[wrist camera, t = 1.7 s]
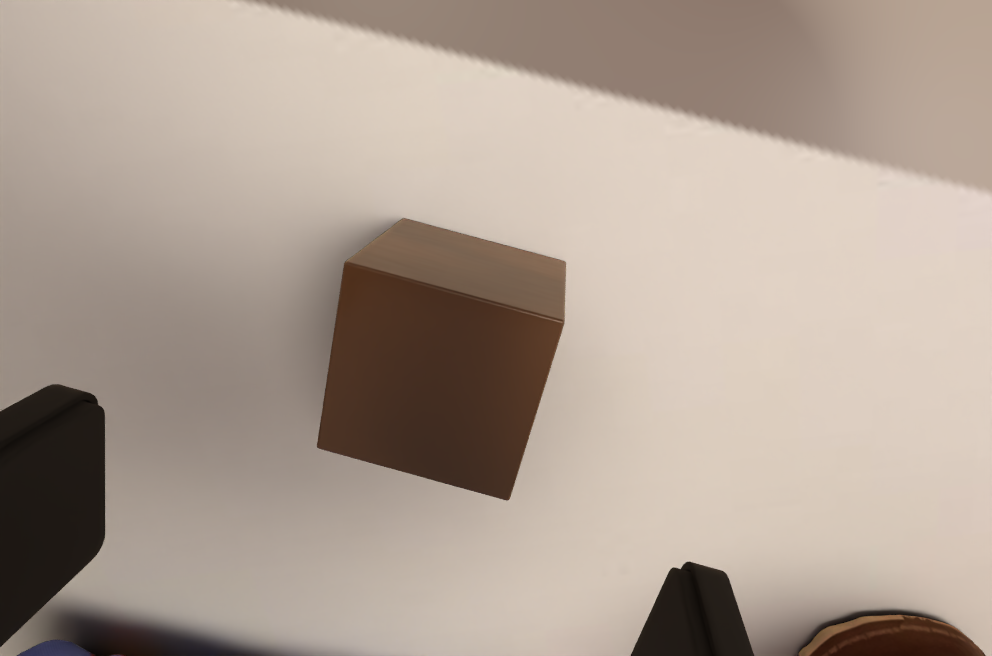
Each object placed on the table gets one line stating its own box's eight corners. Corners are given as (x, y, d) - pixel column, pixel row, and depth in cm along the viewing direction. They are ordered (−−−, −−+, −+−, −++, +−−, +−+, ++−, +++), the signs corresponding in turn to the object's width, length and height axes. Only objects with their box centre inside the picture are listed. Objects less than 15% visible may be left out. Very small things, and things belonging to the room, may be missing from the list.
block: (375, 364, 20) (315, 448, 15) (402, 217, 18) (343, 261, 13) (523, 405, 20) (509, 502, 15) (566, 261, 18) (565, 321, 13)
